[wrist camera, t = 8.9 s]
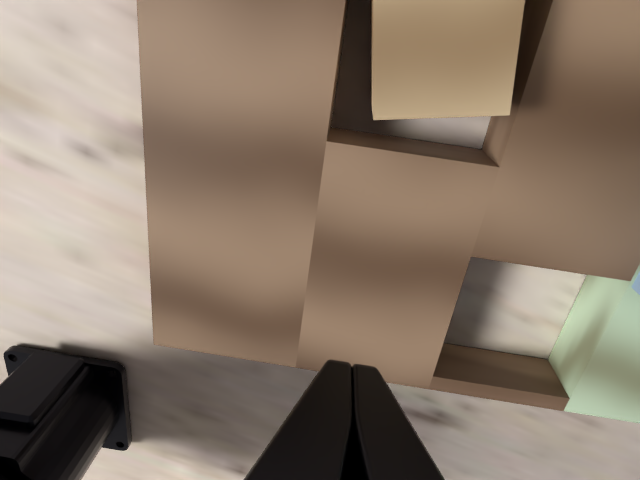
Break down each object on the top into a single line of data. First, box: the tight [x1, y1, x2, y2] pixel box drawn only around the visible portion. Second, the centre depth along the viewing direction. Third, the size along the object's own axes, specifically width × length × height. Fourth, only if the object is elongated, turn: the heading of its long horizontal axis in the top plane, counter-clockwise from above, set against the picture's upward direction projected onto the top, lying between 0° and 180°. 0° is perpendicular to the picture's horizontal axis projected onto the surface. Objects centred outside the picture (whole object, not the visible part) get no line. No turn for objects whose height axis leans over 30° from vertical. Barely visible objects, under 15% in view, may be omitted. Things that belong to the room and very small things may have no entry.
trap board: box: [137, 0, 640, 423], centre depth 17 cm, size 17×24×2 cm
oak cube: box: [371, 0, 525, 120], centre depth 14 cm, size 4×4×4 cm
